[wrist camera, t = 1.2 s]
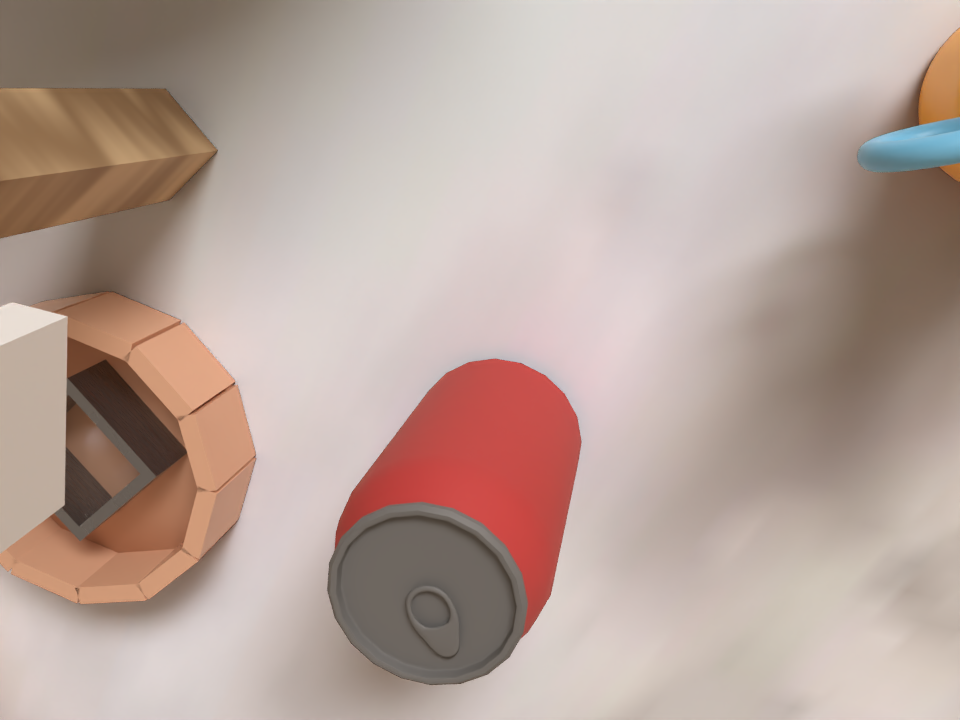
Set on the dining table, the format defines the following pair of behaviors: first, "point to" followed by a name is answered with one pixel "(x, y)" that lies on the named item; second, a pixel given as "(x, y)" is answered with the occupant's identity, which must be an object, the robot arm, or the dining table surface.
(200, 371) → the shallow terracotta dish
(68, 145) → the tall wooden post
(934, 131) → the cylinder
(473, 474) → the beer can
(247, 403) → the dining table surface
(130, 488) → the clip
